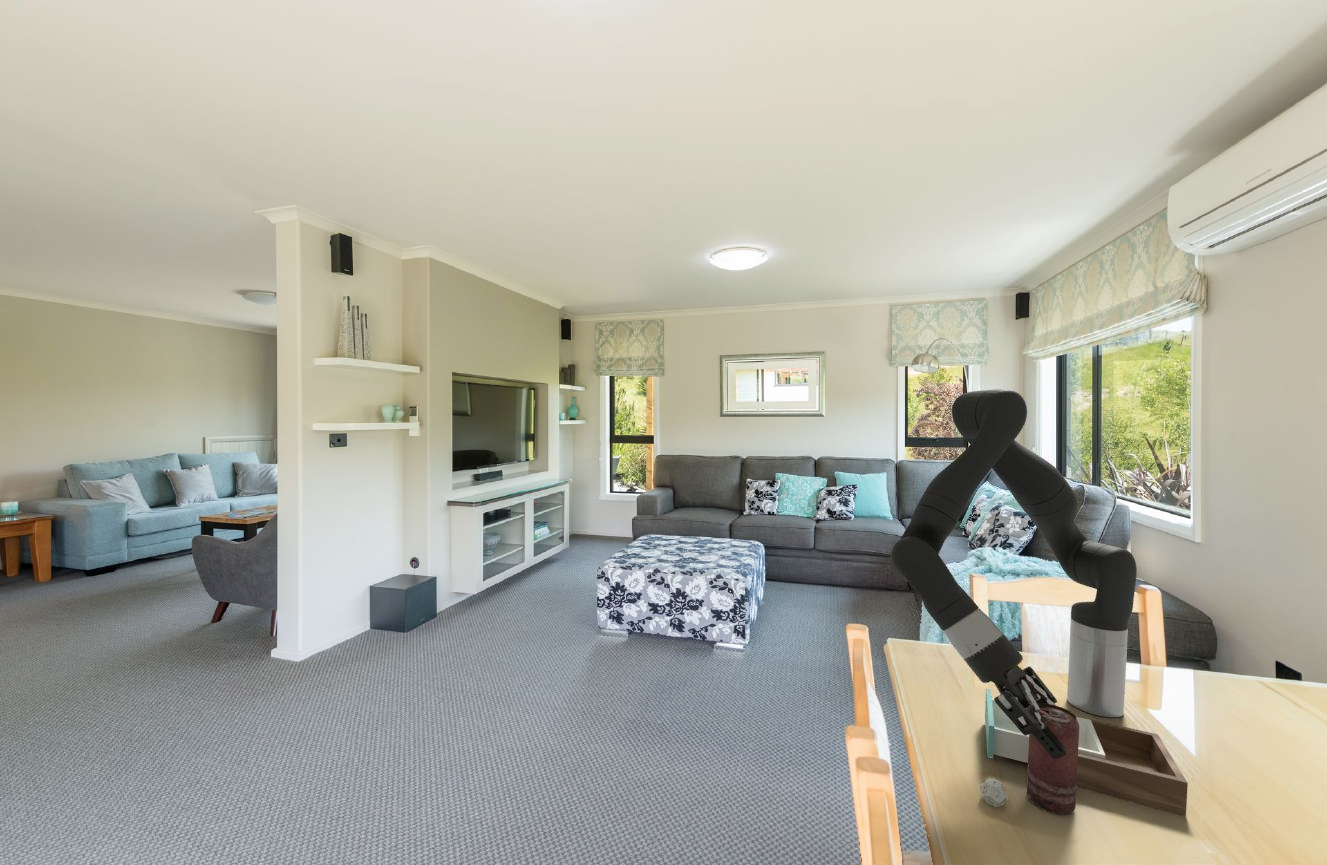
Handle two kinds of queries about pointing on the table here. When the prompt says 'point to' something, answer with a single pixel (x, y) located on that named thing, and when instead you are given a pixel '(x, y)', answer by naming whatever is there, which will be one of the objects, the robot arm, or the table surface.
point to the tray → (1016, 745)
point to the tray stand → (1133, 769)
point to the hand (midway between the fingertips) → (1065, 746)
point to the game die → (993, 792)
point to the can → (1054, 763)
